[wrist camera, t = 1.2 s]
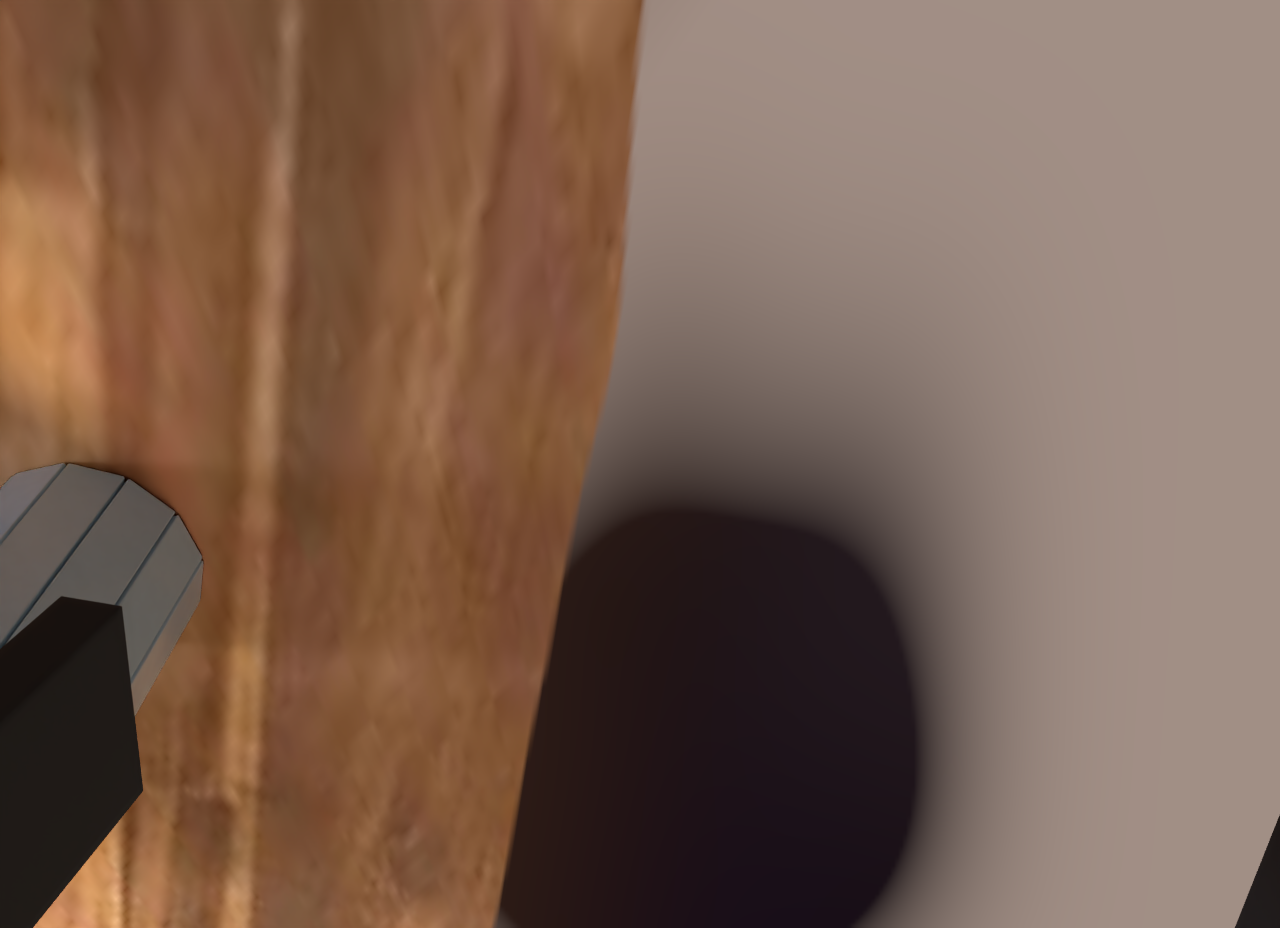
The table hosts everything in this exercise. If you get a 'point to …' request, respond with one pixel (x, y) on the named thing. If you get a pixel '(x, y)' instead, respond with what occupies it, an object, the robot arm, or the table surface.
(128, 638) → the blue cup
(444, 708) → the table surface
